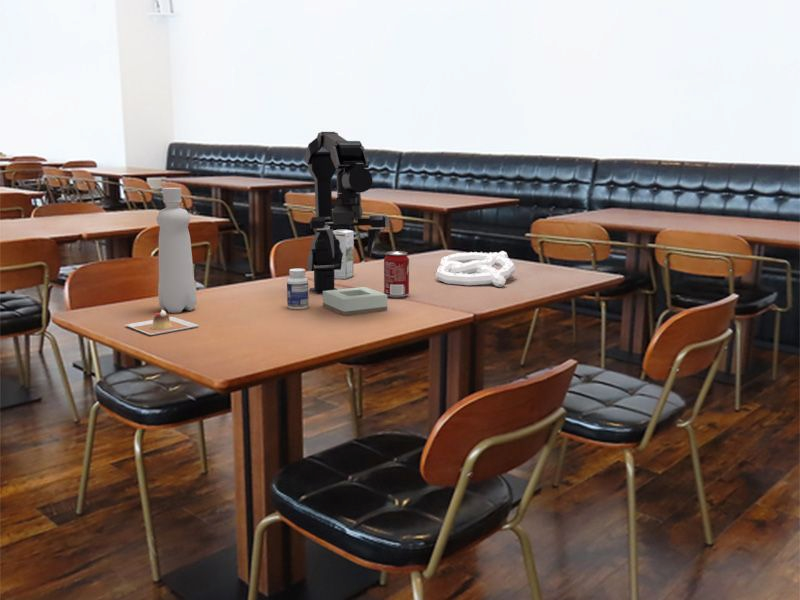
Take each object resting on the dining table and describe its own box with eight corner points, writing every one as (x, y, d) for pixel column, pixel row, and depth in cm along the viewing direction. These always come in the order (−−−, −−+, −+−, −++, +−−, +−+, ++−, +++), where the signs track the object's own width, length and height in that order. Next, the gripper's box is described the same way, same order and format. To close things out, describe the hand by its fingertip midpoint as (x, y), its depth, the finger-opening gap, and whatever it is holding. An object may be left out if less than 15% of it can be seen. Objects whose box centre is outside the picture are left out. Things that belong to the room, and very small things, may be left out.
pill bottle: (288, 305, 198) (287, 267, 196) (309, 305, 199) (308, 267, 197) (286, 310, 193) (285, 271, 191) (308, 309, 193) (307, 271, 191)
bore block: (323, 306, 197) (322, 291, 196) (364, 301, 203) (364, 286, 202) (344, 315, 187) (344, 299, 186) (387, 310, 193) (387, 294, 192)
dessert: (124, 329, 175) (123, 308, 174) (172, 320, 183) (171, 301, 182) (150, 339, 166) (148, 317, 165) (199, 330, 175) (198, 309, 174)
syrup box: (337, 275, 242) (336, 229, 239) (354, 276, 240) (353, 230, 237) (328, 278, 236) (328, 231, 233) (346, 279, 234) (345, 232, 231)
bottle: (184, 304, 198) (178, 186, 192) (204, 309, 192) (198, 188, 186) (152, 309, 192) (144, 188, 186) (171, 315, 186) (164, 190, 180)
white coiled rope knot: (514, 293, 223) (514, 272, 221) (433, 293, 227) (432, 272, 225) (516, 265, 249) (516, 246, 247) (443, 265, 253) (442, 246, 251)
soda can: (406, 299, 206) (406, 254, 204) (381, 298, 208) (381, 254, 205) (410, 294, 213) (411, 251, 210) (386, 293, 214) (387, 250, 212)
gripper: (301, 194, 181) (304, 260, 183) (379, 192, 178) (381, 259, 180) (315, 194, 192) (317, 257, 194) (389, 192, 189) (390, 256, 191)
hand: (350, 257), depth 189 cm, fingers open, 9 cm apart
